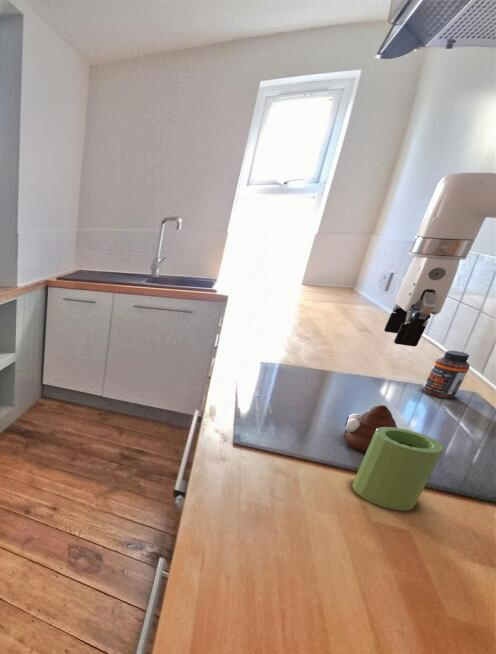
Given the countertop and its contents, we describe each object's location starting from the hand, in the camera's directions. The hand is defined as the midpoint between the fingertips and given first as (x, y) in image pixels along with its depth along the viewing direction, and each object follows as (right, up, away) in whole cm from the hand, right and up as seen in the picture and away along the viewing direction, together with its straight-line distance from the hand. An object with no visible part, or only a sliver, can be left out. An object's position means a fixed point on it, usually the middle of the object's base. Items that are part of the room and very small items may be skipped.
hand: (399, 338), depth 82 cm
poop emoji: (-5, -22, +2) cm, 22 cm away
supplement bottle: (+35, -12, +25) cm, 44 cm away
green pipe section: (-15, -28, -12) cm, 34 cm away
